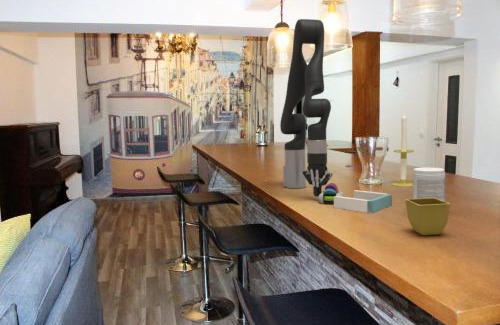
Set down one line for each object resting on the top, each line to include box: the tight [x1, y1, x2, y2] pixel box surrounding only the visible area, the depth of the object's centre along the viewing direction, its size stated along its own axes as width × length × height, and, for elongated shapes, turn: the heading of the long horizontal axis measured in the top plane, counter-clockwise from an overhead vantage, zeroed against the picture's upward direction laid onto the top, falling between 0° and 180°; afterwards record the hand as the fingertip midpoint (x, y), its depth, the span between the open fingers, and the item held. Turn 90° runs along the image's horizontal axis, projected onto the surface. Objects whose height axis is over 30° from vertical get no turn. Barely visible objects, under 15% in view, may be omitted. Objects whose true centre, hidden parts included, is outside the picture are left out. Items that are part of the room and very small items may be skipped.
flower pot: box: [405, 198, 451, 236], centre depth 119 cm, size 9×9×9 cm
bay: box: [333, 189, 393, 214], centre depth 153 cm, size 14×15×4 cm
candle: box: [391, 112, 415, 188], centre depth 191 cm, size 10×10×32 cm
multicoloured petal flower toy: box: [318, 182, 345, 204], centre depth 162 cm, size 8×10×7 cm
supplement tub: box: [412, 167, 446, 202], centre depth 139 cm, size 10×10×15 cm
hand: (317, 196), depth 166 cm, fingers closed
